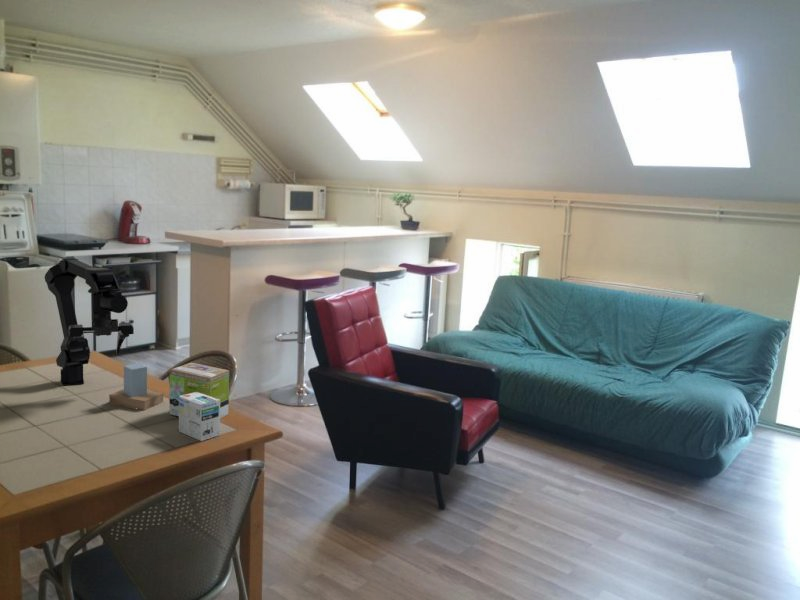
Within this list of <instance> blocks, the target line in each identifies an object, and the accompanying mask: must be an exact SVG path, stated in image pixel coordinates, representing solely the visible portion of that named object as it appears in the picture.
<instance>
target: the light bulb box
mask: <svg viewBox="0 0 800 600" xmlns="http://www.w3.org/2000/svg"><path fill="white" fill-rule="evenodd" d="M178 432H179V433H181V434H184V435H186V436H189V437H191V438H193V439H196V440H198V441H200V442H203V441H206V440H209V439H212V438H215V437H216V438H217V437H219V436H221V418H220V399H217V398H213V397H210V396H207V395H205V394H202V393H199V392H194V393H190V394H186V395H181V396H179V416H178Z"/></svg>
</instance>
